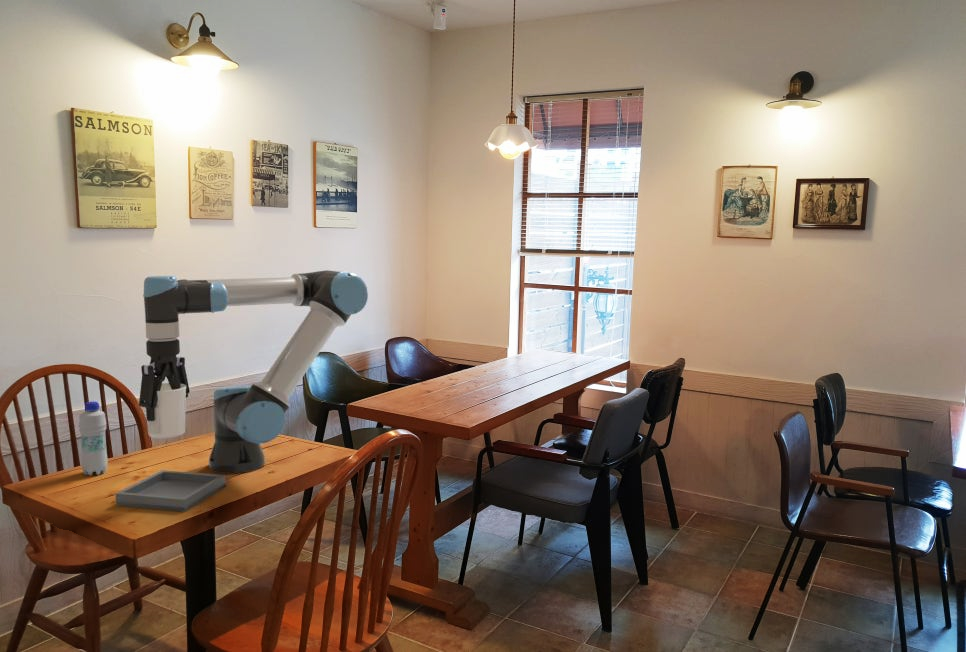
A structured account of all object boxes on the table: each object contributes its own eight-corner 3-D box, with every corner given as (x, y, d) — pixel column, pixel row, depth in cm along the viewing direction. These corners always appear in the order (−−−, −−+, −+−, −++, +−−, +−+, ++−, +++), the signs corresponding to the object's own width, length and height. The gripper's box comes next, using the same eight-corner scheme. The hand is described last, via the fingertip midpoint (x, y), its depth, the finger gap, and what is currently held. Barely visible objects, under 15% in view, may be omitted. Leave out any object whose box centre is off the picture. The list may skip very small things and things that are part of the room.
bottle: (113, 469, 204) (110, 399, 201) (101, 477, 197) (98, 404, 195) (88, 469, 203) (85, 398, 201) (76, 476, 197) (72, 404, 194)
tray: (162, 481, 194) (162, 470, 194) (225, 486, 191) (225, 475, 191) (115, 505, 176) (115, 493, 176) (184, 511, 173) (184, 499, 173)
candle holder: (196, 430, 186) (194, 384, 184) (171, 440, 176) (169, 392, 175) (162, 427, 188) (160, 382, 187) (136, 437, 179) (134, 389, 177)
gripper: (176, 332, 191) (180, 416, 193) (118, 344, 169) (123, 438, 172) (202, 333, 189) (205, 418, 192) (146, 346, 168) (151, 441, 171)
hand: (166, 428), depth 182 cm, fingers closed on candle holder, 9 cm apart
